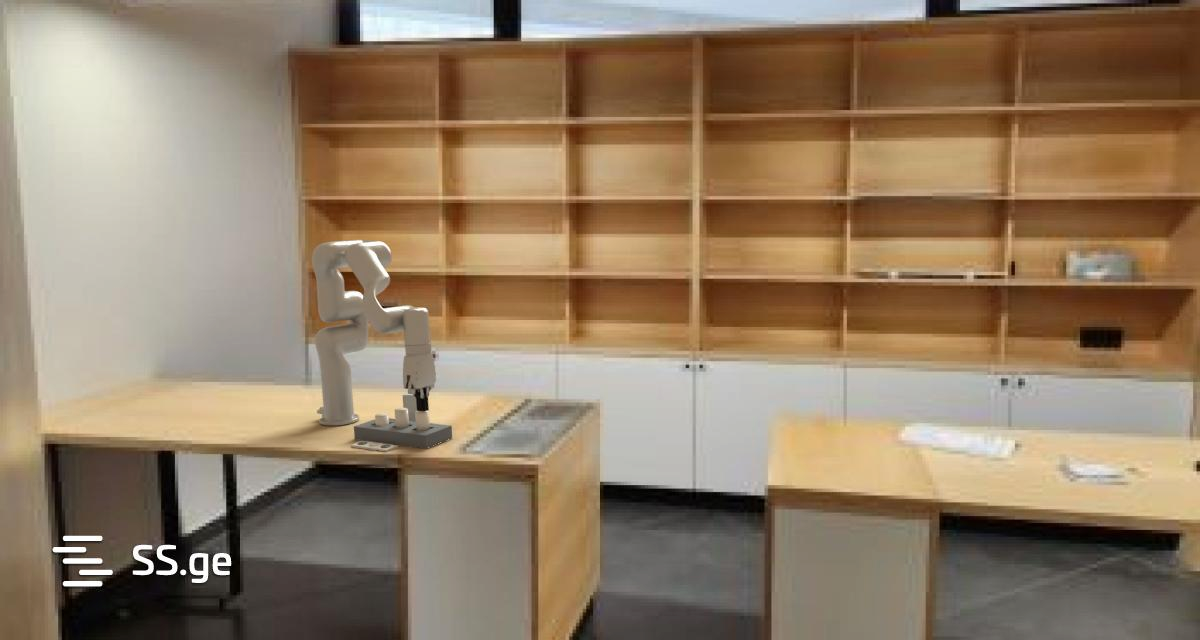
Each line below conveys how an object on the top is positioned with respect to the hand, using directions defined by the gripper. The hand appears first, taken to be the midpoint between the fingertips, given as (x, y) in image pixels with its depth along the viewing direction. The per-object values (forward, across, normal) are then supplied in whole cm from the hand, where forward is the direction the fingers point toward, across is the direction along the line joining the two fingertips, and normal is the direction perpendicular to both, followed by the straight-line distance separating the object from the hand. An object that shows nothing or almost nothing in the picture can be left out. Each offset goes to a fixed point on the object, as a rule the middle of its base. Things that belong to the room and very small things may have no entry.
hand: (422, 410), depth 275 cm
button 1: (+9, 0, -17) cm, 19 cm away
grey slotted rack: (+10, 0, -9) cm, 13 cm away
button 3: (+7, 0, -1) cm, 7 cm away
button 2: (+7, 0, -9) cm, 11 cm away
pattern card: (+9, +10, -11) cm, 18 cm away
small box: (+10, -16, -17) cm, 25 cm away
